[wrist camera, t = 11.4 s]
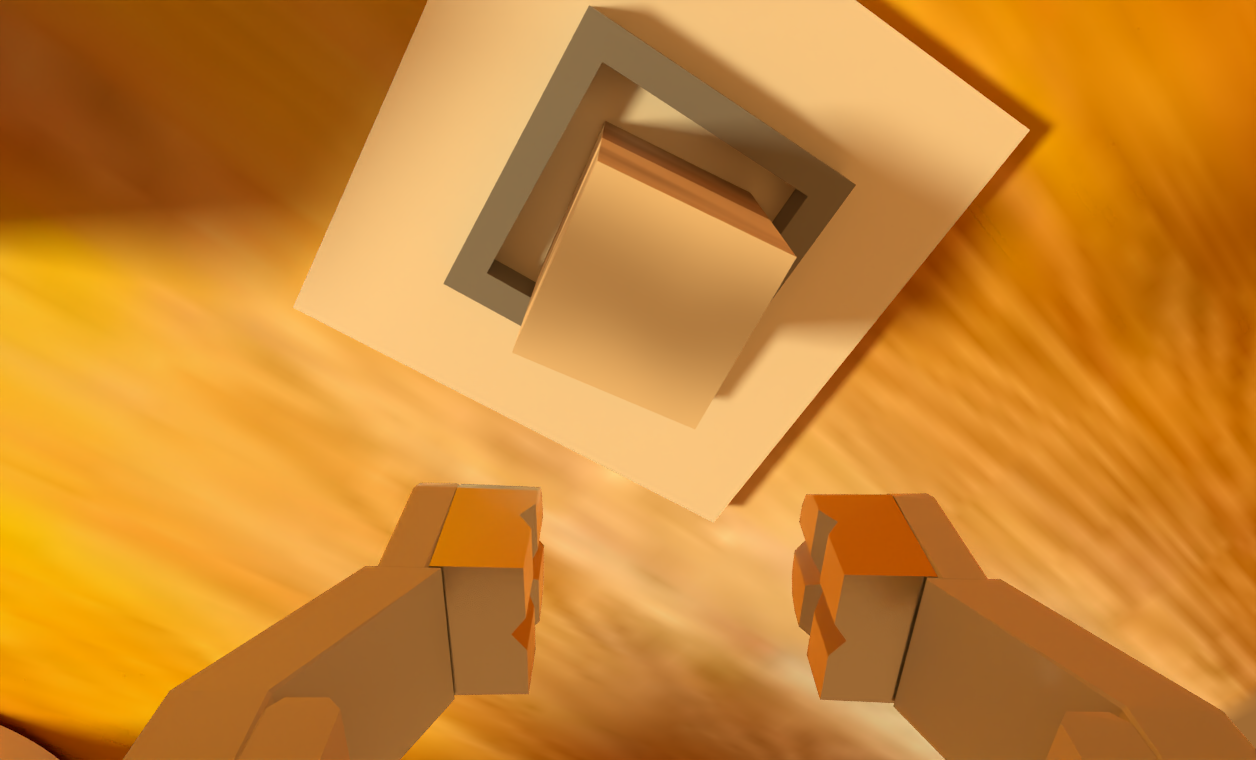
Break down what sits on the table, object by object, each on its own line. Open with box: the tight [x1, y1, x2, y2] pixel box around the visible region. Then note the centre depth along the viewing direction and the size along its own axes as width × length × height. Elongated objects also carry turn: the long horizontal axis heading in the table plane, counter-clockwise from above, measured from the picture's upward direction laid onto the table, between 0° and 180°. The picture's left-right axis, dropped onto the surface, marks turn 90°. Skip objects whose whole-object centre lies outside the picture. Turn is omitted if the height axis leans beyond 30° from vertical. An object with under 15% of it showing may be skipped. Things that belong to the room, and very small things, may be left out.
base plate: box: [293, 0, 1030, 523], centre depth 24 cm, size 17×17×3 cm
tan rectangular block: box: [512, 121, 797, 429], centre depth 21 cm, size 5×5×7 cm
